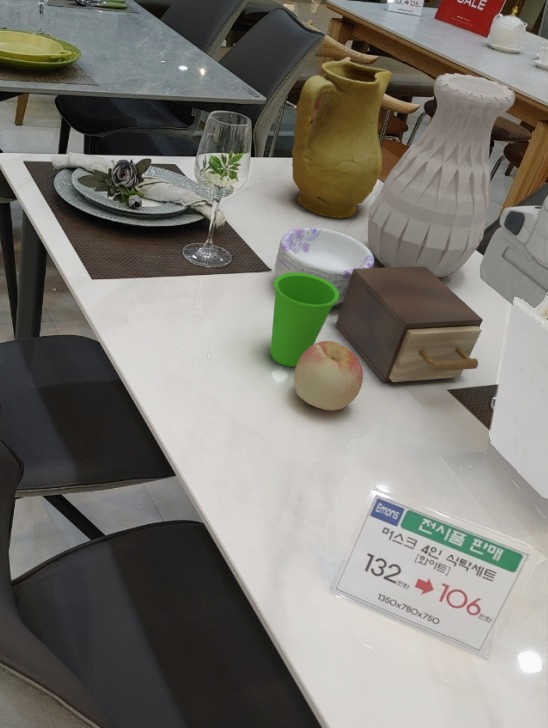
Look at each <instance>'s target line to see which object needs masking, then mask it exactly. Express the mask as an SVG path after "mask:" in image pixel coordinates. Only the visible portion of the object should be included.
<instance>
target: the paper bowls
mask: <svg viewBox="0 0 548 728" xmlns="http://www.w3.org/2000/svg"><path fill="white" fill-rule="evenodd" d="M374 264H375V256H374V254H373V253H372V251H371V250H370V248H369V247H367V246H366V245H365V244H364V243H363V242H362V241H360V240H358V239H356V238H354V237H352V236H350V235H348V234H346V233H343V232H339V231H336V230H333V229H329V228H322V227H312V226H311V227H309V226H307V227H297V228H294V229H291V230H289V231H287V232H286V233H285V234H284V235H282V237H281V239H280V241H279V245H278V250H277V254H276V259H275V264H274V271H275V275H277V277H279V276H280V275H283V274H286V273H306V274H311V275H315V276H318V277H321V278H323V279H325V280H327V281H328V282H330V283H331V284H333V285H334V286H335V287H336V288H337V290H338V292H339V299H338V301H337V302H336V303H334V304H333V306H332V307H334V306H337V305H338V306H339V305H340V304H342V303H343V300H344V297H345V294H346V291H347V288H348V284H349V281H350V278H351V275H352V272H353V269H357V268H374Z"/></svg>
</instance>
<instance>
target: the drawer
mask: <svg viewBox="0 0 548 728" xmlns="http://www.w3.org/2000/svg"><path fill="white" fill-rule="evenodd" d="M481 333H482V328H480V327H478V326H466V325H462V326H444V327H438V328H427V329H410V328H408V330H407V332H406V335H405V337H404V340H403V342H402V345H401V348H400V350H399V353H398V355H397V358H396V360H395V363H394V365H393V368H392V371H391V373H390V376H389V378H390V380H391V381H392V382H391V383H401V382H412V381H426V380H427V381H428V380H439V379H451V378H460V377H461V376H462V373H463V371H464V370H476V369H477V368H478V366H479V360H478V359H477V358H475V357H474V358H473V357H471V354H472V352H473V350H474V348H475V346H476V344H477V342H478V339H479V337H480V335H481Z"/></svg>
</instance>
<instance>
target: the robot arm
mask: <svg viewBox="0 0 548 728" xmlns="http://www.w3.org/2000/svg"><path fill="white" fill-rule="evenodd" d="M499 225H500V227H499V228H497V229H495V231H494V233H493V234H492V236H491V238H490V240H489V242H488V244H487V247H486V249H485V251H484V254H483V256H482V259H481V262H480V265H479V276H480V279H481V280H482V281H483V282H484V283H485V284H486V285H488V286H489V287H490V288H491V289H492V290H494V291H495V292H496V293H497V294H499V295H500V296H501V297H502V299H503V298H504V299H505V300H506V301H507V302H508V303H509V304H511V305H512V306H513V300H514V297H518V298H520V299H523V300H524V301H525V302H527V303H528V304H529V305H530V306H532V307H533V308H536V307H537V306H538V305H539V304H540V303H541V302H542V301H543V300H544V298H545V296H546V294H547V292H548V195H547V196H546V197H545V199H544V200H543V203H542V205H519V206H509V207H505V208H504V209H503V211H502V213H501V215H500V218H499ZM547 296H548V294H547Z"/></svg>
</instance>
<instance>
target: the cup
mask: <svg viewBox="0 0 548 728" xmlns="http://www.w3.org/2000/svg"><path fill="white" fill-rule="evenodd" d="M273 288H274V290H275V291H274V304H273V317H272V329H271V343H270V354H271V355H270V356H271V359H272V360H273V361H274V362H276V363H277V364H279V365H281V366H283V367H290V368H296V365H297V363H298V361H299V359H300V357H301V356H302V354H303V353H304V352H305V351H306V350H307V349H308V348H309V347H310V346H312V345H314V344H315V342H316V340H317V338H318V336H319V334H320V332H321V330H322V328H323V326H324V325H325V322H326V320H327V318H328V316H329V314H330V312H331V310H332V308H333V307H334V306H333V304H334V303H336V302H337V301H338V299H339V292H338V290H337V288H336V287H335V286H334V285H333V284H331V283H330V282H328V281H327V280H325V279H323V278H321V277H318V276H315V275H311V274H306V273H286V274H283V275H280V276H277V277H276V278H275V279H274V281H273Z"/></svg>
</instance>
